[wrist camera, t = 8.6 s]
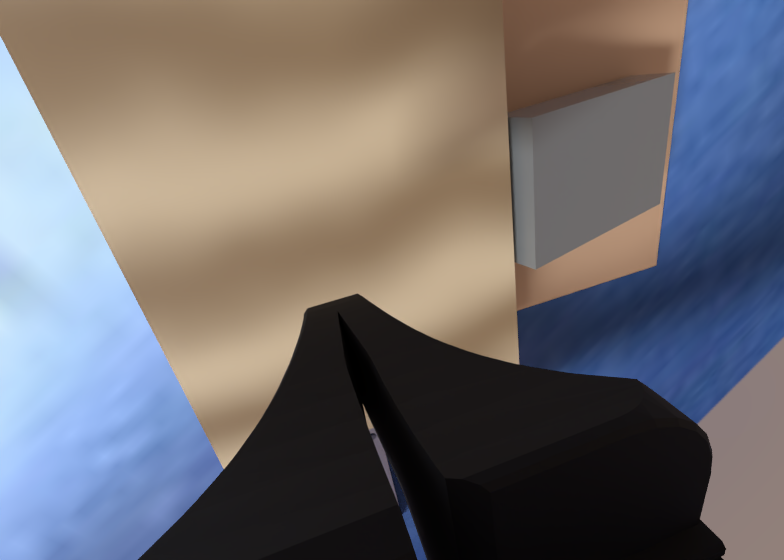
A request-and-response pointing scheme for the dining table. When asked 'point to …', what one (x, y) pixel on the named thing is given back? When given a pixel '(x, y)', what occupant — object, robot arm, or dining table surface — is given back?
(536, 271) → the mat
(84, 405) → the dining table surface
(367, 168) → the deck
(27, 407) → the dining table surface
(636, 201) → the thin grey panel
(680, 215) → the dining table surface
